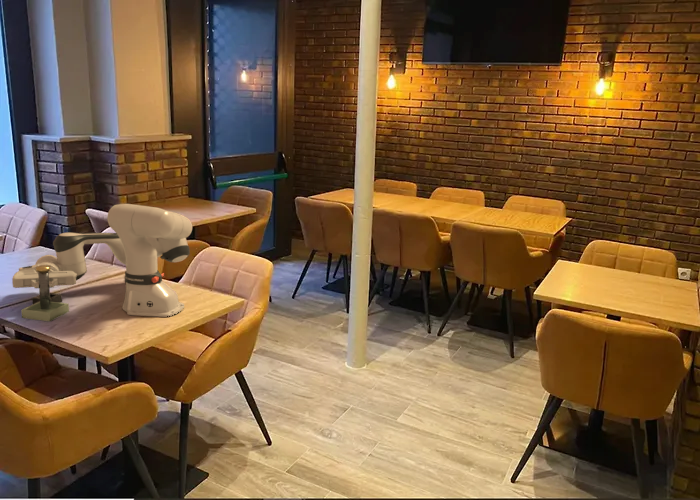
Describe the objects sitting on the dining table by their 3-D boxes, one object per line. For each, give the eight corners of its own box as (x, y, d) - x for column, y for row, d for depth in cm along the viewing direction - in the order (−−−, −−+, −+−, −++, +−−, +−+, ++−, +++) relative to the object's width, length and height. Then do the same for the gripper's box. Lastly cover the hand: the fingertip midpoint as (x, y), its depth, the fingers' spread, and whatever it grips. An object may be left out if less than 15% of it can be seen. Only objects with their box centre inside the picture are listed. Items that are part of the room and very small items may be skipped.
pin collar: (62, 301, 217) (61, 294, 216) (50, 307, 210) (49, 300, 209) (45, 299, 218) (44, 292, 217) (32, 305, 211) (32, 297, 210)
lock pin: (55, 306, 205) (53, 265, 201) (47, 310, 200) (44, 269, 197) (44, 305, 205) (41, 264, 202) (35, 309, 201) (33, 267, 197)
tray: (68, 311, 208) (68, 303, 207) (49, 321, 198) (49, 313, 197) (42, 308, 209) (41, 300, 208) (21, 317, 199) (21, 309, 198)
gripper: (77, 281, 217) (77, 292, 205) (15, 284, 209) (11, 296, 197) (76, 265, 216) (76, 275, 204) (14, 267, 207) (10, 278, 195)
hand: (44, 285), depth 200 cm, fingers closed on lock pin, 3 cm apart
